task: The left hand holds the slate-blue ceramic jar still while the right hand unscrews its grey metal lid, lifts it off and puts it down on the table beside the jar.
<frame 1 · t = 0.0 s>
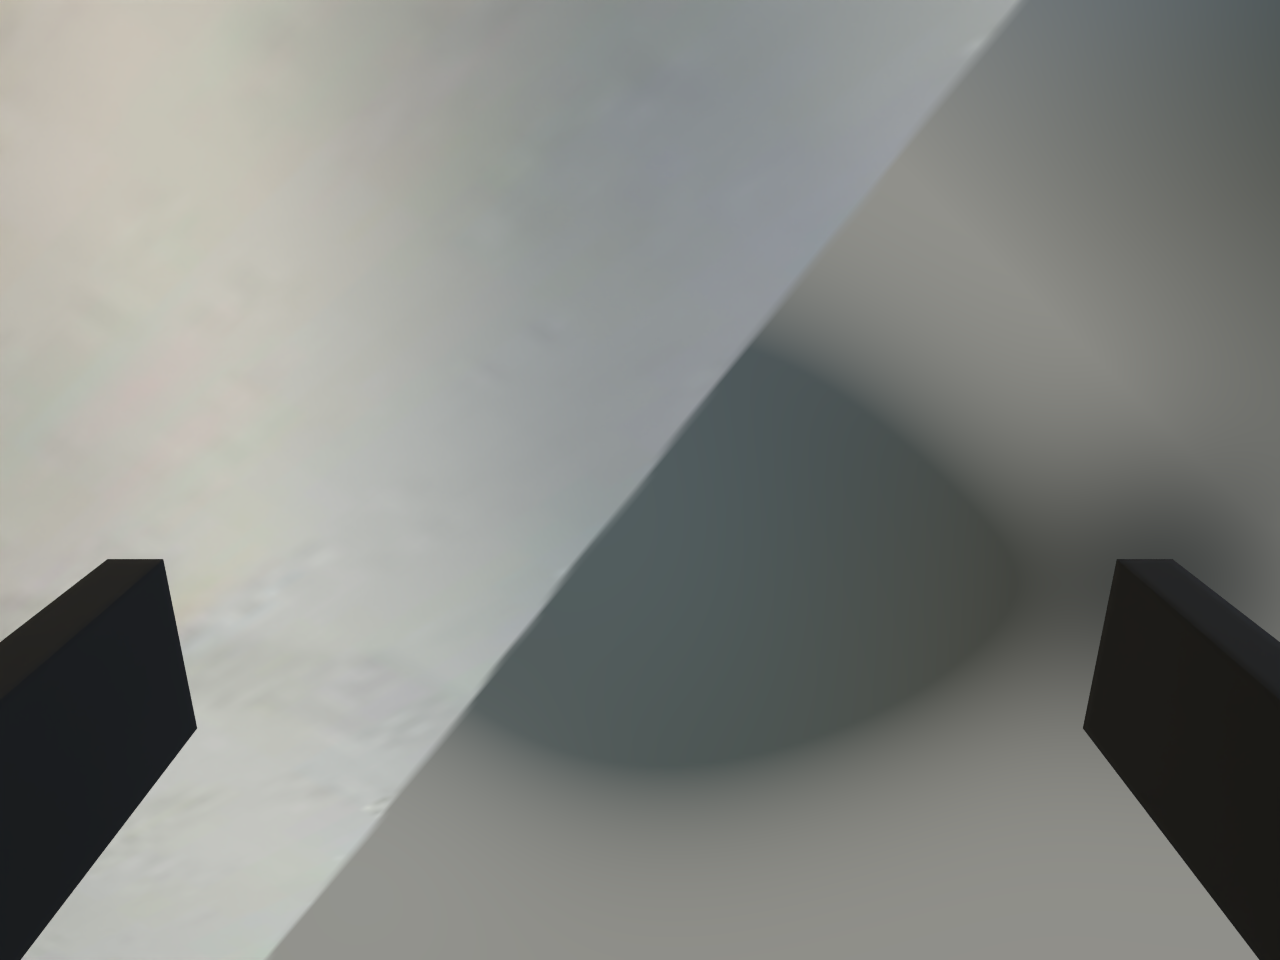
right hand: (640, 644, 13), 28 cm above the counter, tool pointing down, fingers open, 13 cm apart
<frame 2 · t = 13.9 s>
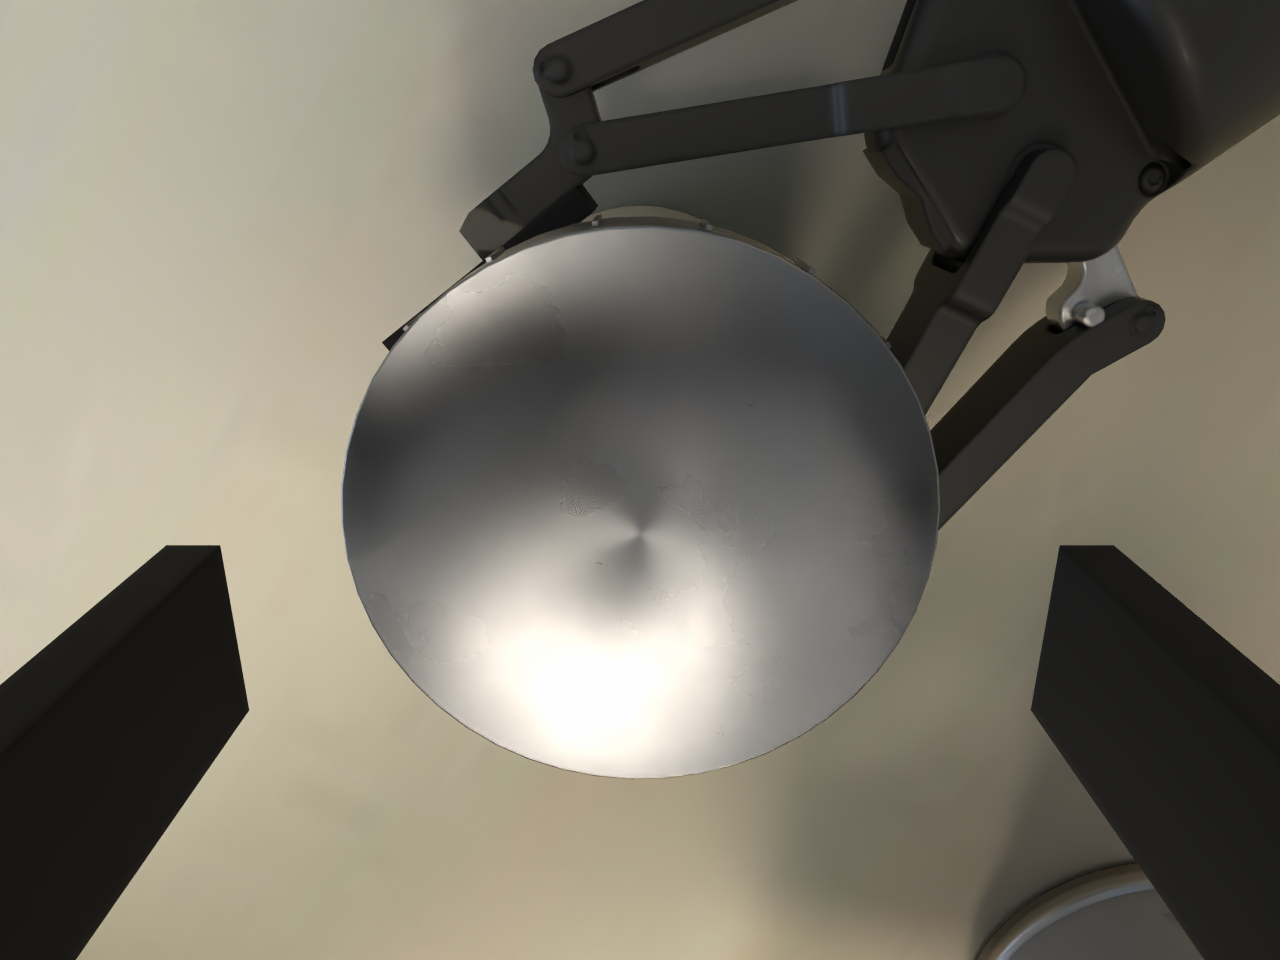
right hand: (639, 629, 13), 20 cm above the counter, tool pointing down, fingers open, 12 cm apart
left hand: (520, 480, 27), fingers closed on jar, 9 cm apart
lid: (640, 526, 17), point 16 cm above the counter, screwed on, not yet turned
jar: (640, 345, 32), on the counter, touching left hand
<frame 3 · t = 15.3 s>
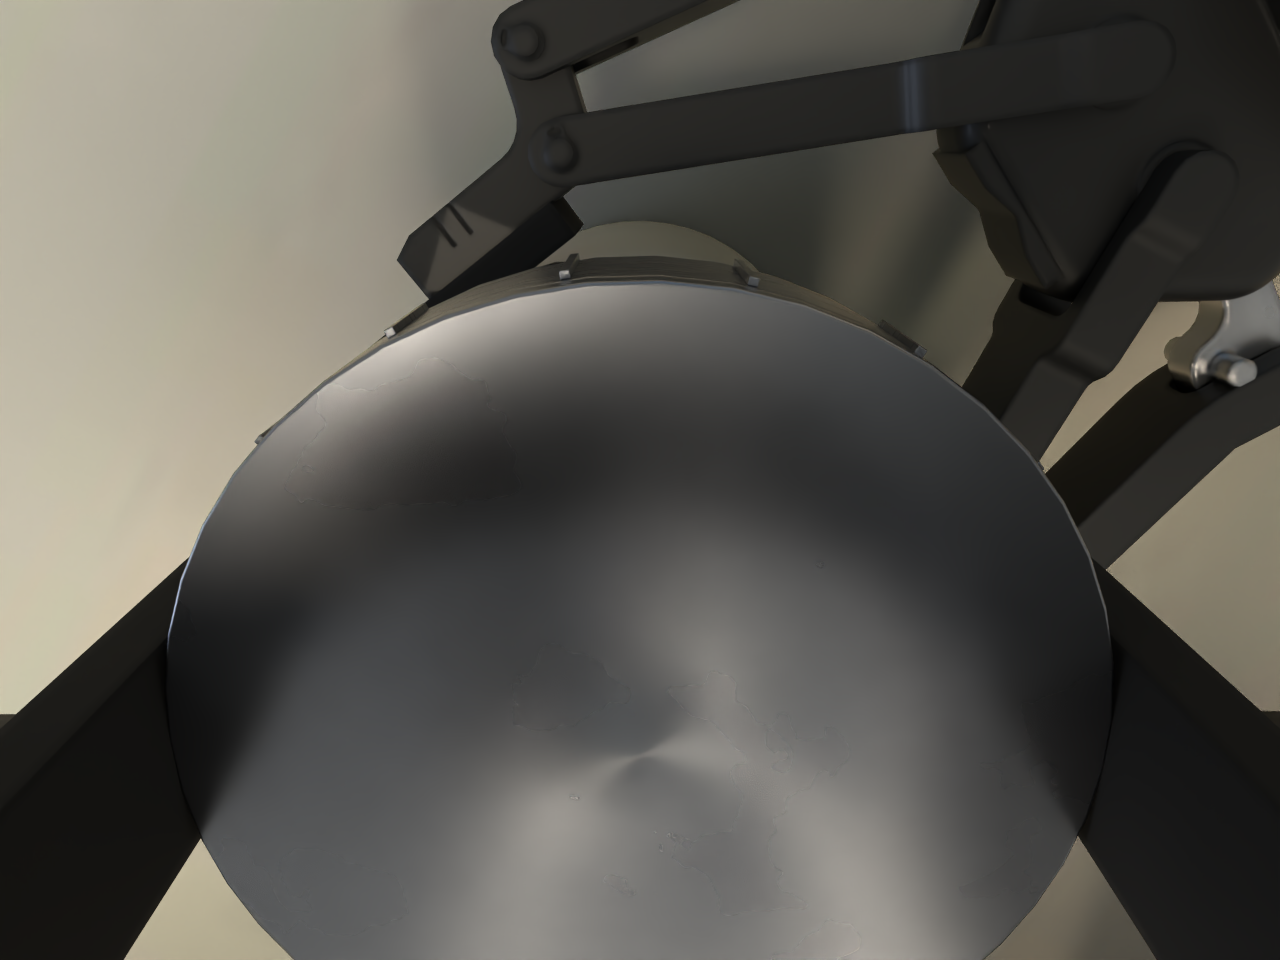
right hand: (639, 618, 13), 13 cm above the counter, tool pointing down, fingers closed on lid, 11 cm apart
lid: (639, 737, 11), point 16 cm above the counter, screwed on, not yet turned, touching right hand
jar: (638, 392, 26), on the counter, touching left hand
when the right hand's fingers open (0 cm above the counter, at t = 25.8 s): lid drops 1 cm, point 2 cm above the counter.
when the left hand's fingers open (7 cm above the counter, at t = 26.7 s): jar stays where it is, on the counter.
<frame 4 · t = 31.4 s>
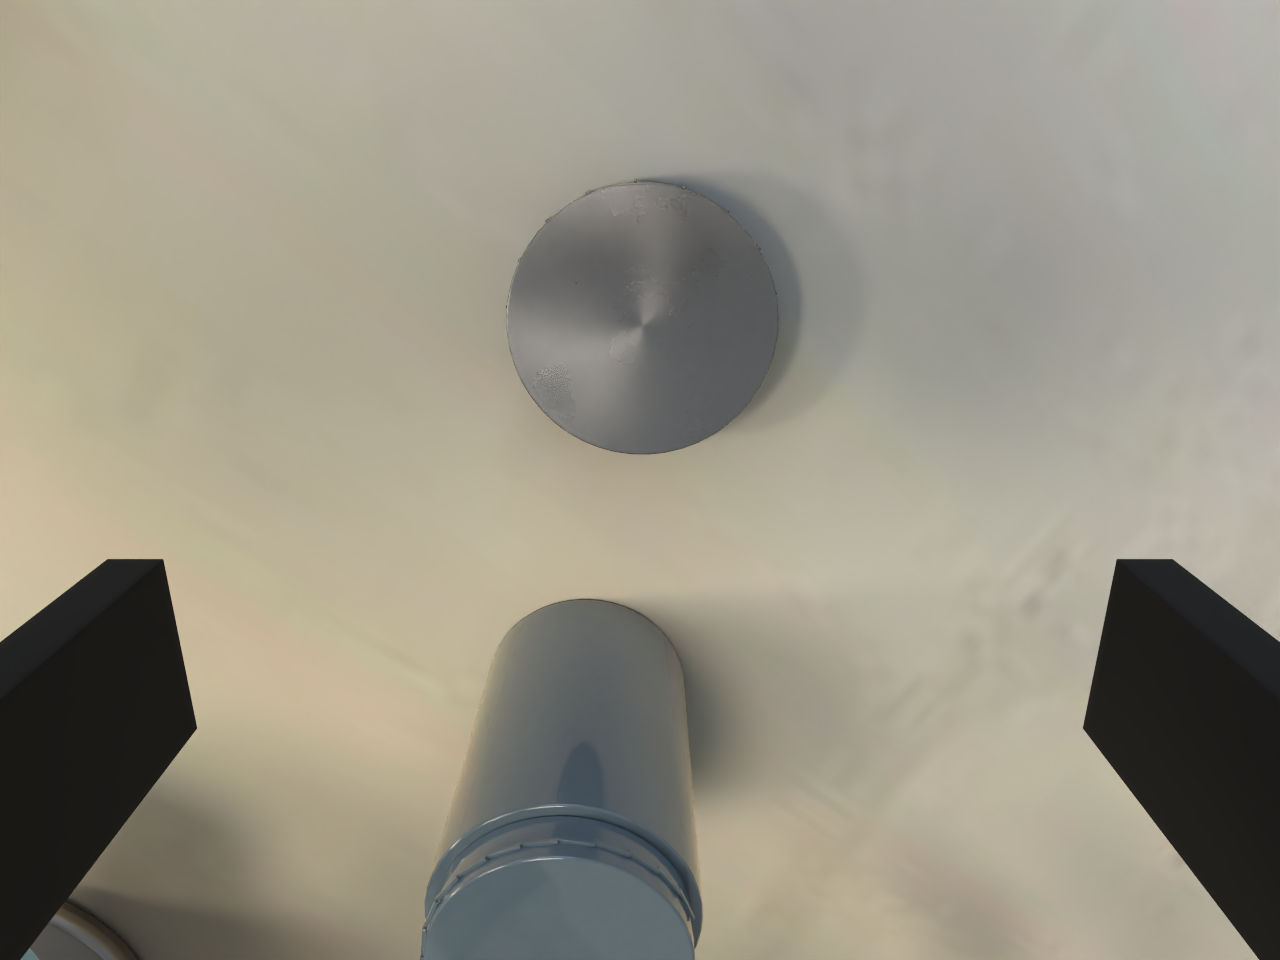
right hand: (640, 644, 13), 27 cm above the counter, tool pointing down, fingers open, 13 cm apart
lid: (642, 324, 36), point 2 cm above the counter, off its thread
jar: (586, 685, 44), on the counter
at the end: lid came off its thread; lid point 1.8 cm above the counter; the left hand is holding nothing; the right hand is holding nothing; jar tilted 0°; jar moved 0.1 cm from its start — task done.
